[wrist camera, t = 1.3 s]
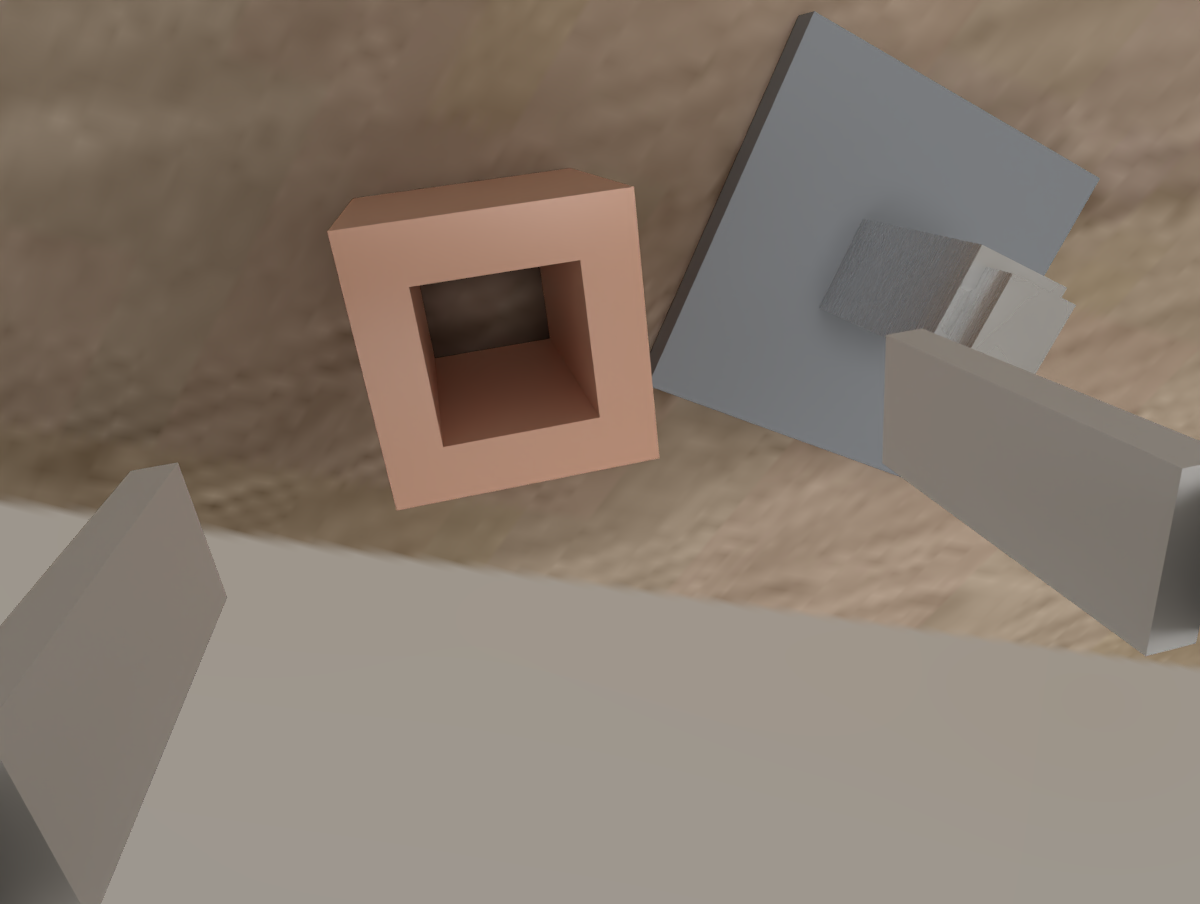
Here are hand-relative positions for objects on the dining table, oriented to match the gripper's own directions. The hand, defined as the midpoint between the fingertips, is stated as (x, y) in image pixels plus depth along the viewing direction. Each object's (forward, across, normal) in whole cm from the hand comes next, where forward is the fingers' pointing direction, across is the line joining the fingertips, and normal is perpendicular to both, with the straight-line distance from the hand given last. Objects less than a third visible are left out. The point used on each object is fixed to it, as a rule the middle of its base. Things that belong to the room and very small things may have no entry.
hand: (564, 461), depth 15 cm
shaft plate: (+16, +15, -2) cm, 22 cm away
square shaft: (+15, +15, -2) cm, 21 cm away
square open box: (+16, 0, 0) cm, 16 cm away
